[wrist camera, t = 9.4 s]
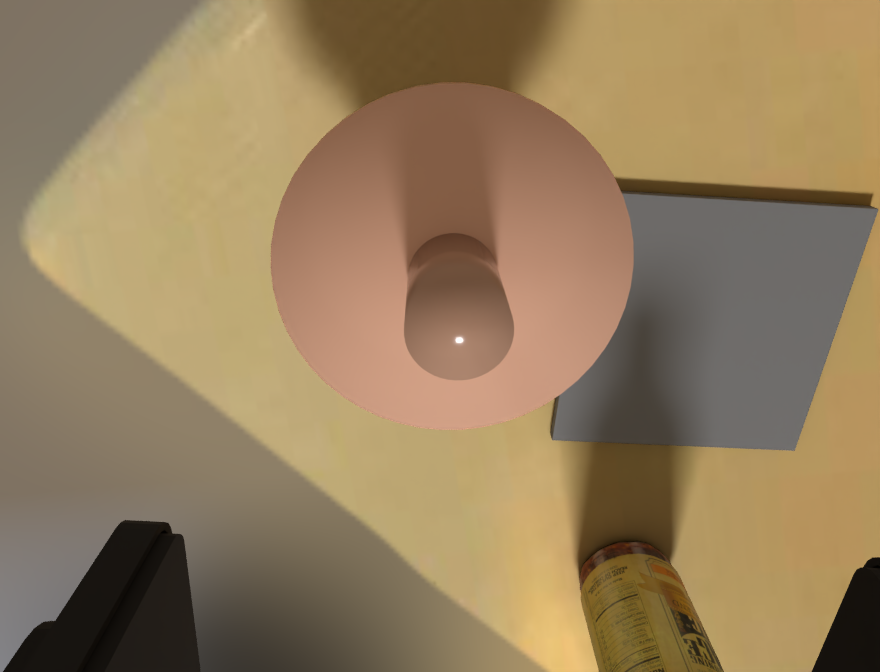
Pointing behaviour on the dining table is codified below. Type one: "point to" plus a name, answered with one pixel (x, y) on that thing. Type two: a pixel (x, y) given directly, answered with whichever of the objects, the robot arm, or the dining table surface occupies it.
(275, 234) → the lid
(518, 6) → the dining table surface
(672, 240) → the mat
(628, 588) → the sauce bottle
